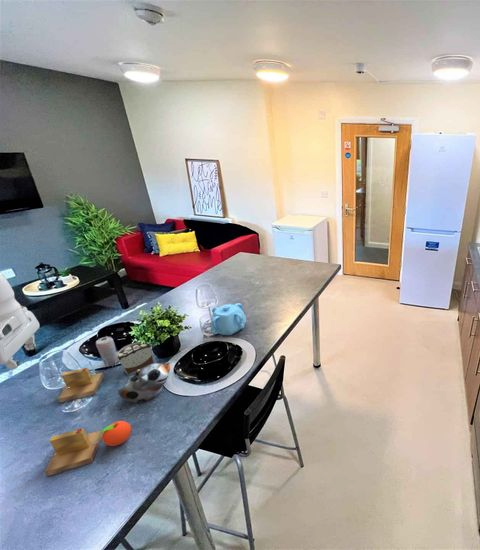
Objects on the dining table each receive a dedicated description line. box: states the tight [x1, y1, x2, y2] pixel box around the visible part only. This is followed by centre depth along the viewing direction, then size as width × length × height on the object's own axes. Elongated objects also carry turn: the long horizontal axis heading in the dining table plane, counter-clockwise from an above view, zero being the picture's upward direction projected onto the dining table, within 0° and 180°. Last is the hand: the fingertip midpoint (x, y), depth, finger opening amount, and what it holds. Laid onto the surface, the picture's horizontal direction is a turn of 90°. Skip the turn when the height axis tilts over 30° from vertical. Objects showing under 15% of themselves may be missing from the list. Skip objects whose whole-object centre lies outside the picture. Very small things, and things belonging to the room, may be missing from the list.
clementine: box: [97, 420, 132, 447], centre depth 90 cm, size 8×7×7 cm
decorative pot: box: [210, 302, 247, 336], centre depth 146 cm, size 16×16×14 cm
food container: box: [116, 341, 155, 376], centre depth 120 cm, size 12×6×10 cm, turn 144°
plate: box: [57, 372, 105, 403], centre depth 110 cm, size 11×10×2 cm
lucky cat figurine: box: [117, 361, 171, 404], centre depth 108 cm, size 15×12×14 cm
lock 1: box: [49, 428, 91, 456], centre depth 85 cm, size 7×2×7 cm, turn 115°
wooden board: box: [44, 429, 104, 477], centre depth 87 cm, size 11×10×2 cm
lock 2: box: [61, 367, 94, 389], centre depth 108 cm, size 7×2×7 cm, turn 115°
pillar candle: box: [95, 336, 120, 367], centre depth 121 cm, size 5×5×12 cm
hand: (23, 357), depth 89 cm, fingers open, 8 cm apart
